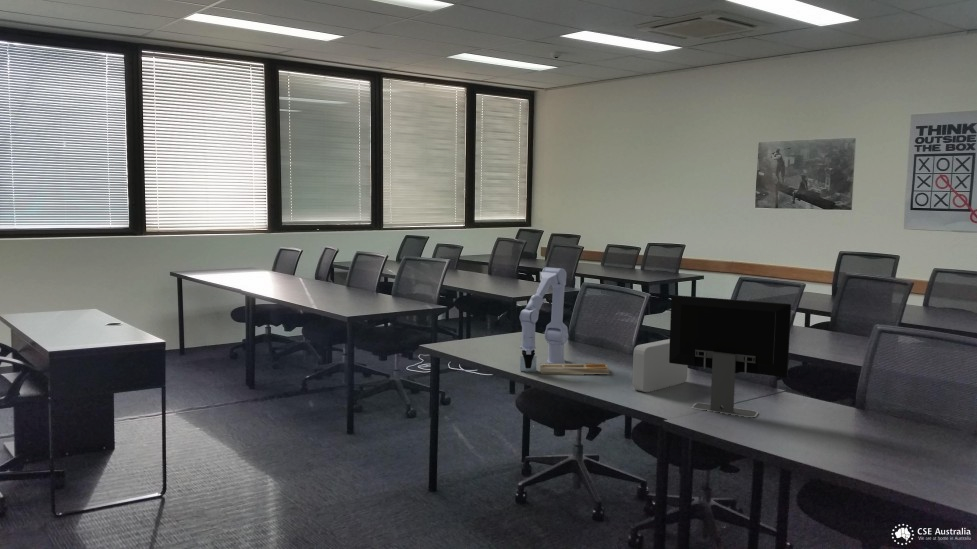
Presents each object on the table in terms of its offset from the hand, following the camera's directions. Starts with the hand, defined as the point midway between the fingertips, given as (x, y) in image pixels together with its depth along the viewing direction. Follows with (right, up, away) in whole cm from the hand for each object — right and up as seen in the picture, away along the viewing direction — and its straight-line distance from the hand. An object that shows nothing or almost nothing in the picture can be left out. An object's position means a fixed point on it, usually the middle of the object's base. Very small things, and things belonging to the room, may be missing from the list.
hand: (528, 367), depth 319 cm
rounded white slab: (+52, -5, -24) cm, 57 cm away
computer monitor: (+67, -8, -57) cm, 88 cm away
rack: (+20, -2, -1) cm, 20 cm away
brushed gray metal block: (0, -2, 0) cm, 2 cm away
